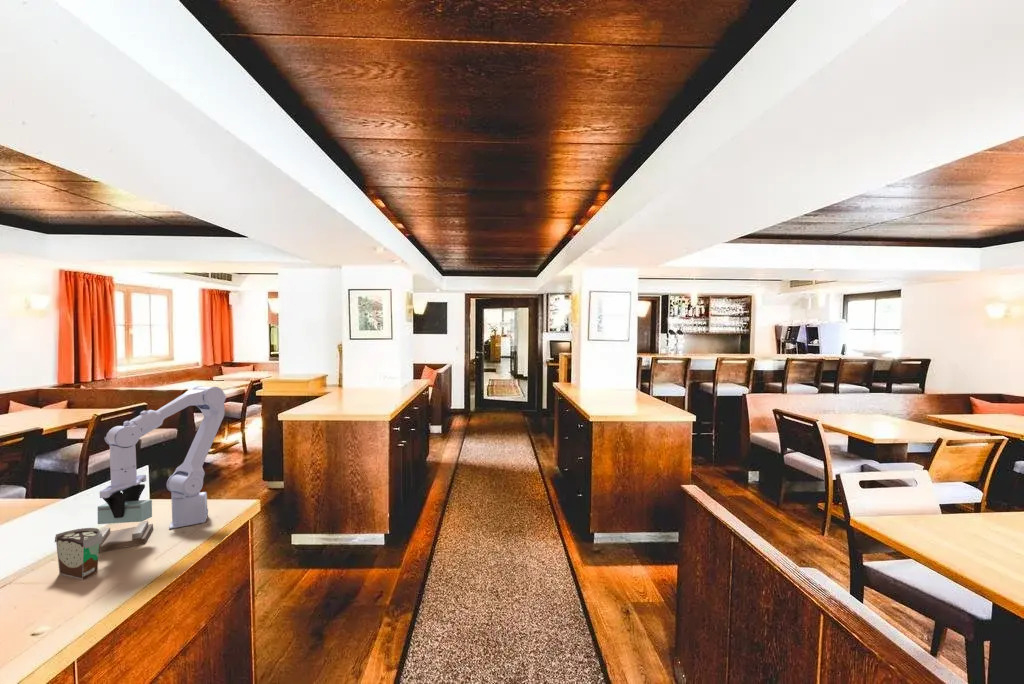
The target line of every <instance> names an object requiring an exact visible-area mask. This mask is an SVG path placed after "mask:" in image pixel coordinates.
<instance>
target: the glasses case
mask: <svg viewBox="0 0 1024 684" xmlns="http://www.w3.org/2000/svg"><path fill="white" fill-rule="evenodd" d="M152 517H153V499H139V500H138V501H125V508H124V516H123V517H122V518H114V516H113V513H112V511H111V509H110V507H109V505H108V504H107V503H106V502H105V503H103V504H100V505H98V506H97V525H108V524H109V525H110V524H111V525H112V524H122V523H123V524H125V523H138V522H139V523H140V522H144V521H147V520H148V519H150V518H152Z"/></svg>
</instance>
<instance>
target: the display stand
mask: <svg viewBox="0 0 1024 684" xmlns="http://www.w3.org/2000/svg"><path fill="white" fill-rule="evenodd" d="M99 530H100V531H101V534H102V536H103V539H102V540H101V541H100V542H99V553H102V552H108V551H112V550H118V549H122V548H128V547H134V546H139V545H142V544H143V545H144V544H146V543H147V540H148V539H149V536H150V535H151V533H152V531H153V530H154V523H149V520H144V521H142V522H139V523H138V524H137V526H133V527H127V528H121V529H116V530H111V527H106V528H105V527H104V528H101V529H99Z"/></svg>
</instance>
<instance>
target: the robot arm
mask: <svg viewBox="0 0 1024 684" xmlns="http://www.w3.org/2000/svg"><path fill="white" fill-rule="evenodd" d="M226 399H227V396H226V394H225V392H224V391H223V389H222V388H221V387H218V386H203V385H197V386H195V387H193V388H191V389H188V390H187V391H185V392H184V393H183V394H181V395H179V396H177V397H175V398H174V399H173V400H171V401H169V402H168V403H166V404H165V405H163V406H161V407H159V409H157V410H154V409H148V410H142V411H140V413H139V415H138V416H135V417H134V418H132V419H130V420H125V421H124V422H123V425H116V426H113V427H112V428H111V429H109V430H108V432H107V433H106V436H104V441H105V443H106V444H107V445H109V465H110V466H109V467H110V468H109V469H110V484H109V485H108V486H107V487H105V488H104V489H102V490H100V491H99V498H100V499H103V500H104V501H105V504H106V503H107V504H108V505H109V507H110V509H111V511H112V513H113V516H114V518H122V517H123V516H124V508H125V501H138V500H140V498H141V496H142V493H143V491H144V490H145V488H146V485H145V484H144V483H145V482H147V474H139V475H137V473H138V472H137V450H136V448H137V447H136V444H137V443H138V442H139V440H140V438H142V437H143V436H145V435H146V434H149V433H151V432H152V431H154V430H156V429H158V428H159V427H160V426H162V425H163V422H164V420H165V419H167V418H168V417H171V416H173V415H175V414H176V413H178V412H180V411H182V410H185V409H186V408H188V407H190V406H196V407H197V408H198V409H199V410H200V411H201V414H202V415H203V418H202V420H201V423H200V424H199V427H198V429H197V431H196V433H195V436H194V438H193V440H192V442H191V445H190V447H189V449H188V452H187V454H186V456H185V458H184V460H183V462H182V463H181V464H180V465H178V466H177V467H176V468H175V470H174V472H173V474H171V475H170V476H169V478H168V479H167V480H166V489H167V490H168V491H169V492H170V493H171V496H170V497H171V498H170V499H171V518H172V519H171V522H170V525H169V527H168V529H169V530H171V529H176V528H181V527H186V526H193V525H199V524H203V523H206V521H207V519H208V514H209V508H208V493H207V491H202V492H201V490H202V489H203V485H204V477H205V475H206V473H205V470H204V468H203V466H204V463H205V461H206V459H207V457H208V454H209V452H210V449H211V447H212V445H213V443H214V440H215V439H216V436H217V433H218V431H219V428H220V427H221V424H222V422H223V419H224V418H225V402H226Z"/></svg>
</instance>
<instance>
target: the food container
mask: <svg viewBox="0 0 1024 684" xmlns="http://www.w3.org/2000/svg"><path fill="white" fill-rule="evenodd" d="M100 530H101V529H99V528H97V527H84V528H83V527H82V528H77V529H71V530H67V531H63V532H59V533H57V534H55V536H54V543H55V544H56V551H57V553H56V554H57V562H58V571H59V572H58V574H59V575H62V576H64V577H65V576H66V577H70V578H74V579H78V580H85V579H88V578H89V577H91V576H93V575H94V574H96V573H97V571H98V568H99V553H100V552H99V542H100V541H101V540H102V539H103V536H102V534H101V531H100Z"/></svg>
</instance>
